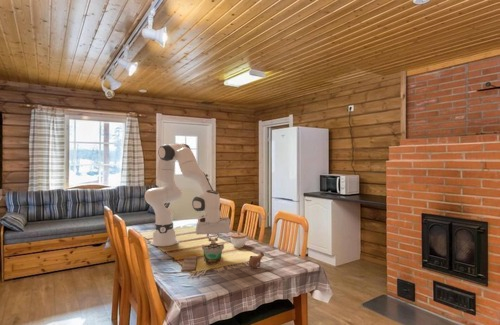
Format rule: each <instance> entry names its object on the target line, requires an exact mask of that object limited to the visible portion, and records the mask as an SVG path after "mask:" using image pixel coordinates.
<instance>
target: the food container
mask: <svg viewBox="0 0 500 325" xmlns="http://www.w3.org/2000/svg"><path fill="white" fill-rule="evenodd" d="M201 249H202V251H203V260H204V262H205V263H206V264H208V265H217V264H218V263H220V262H221V259H222V256H223V255H222V254H223V251H224V249H225V244H224V243H222V244H218V245H210V244H209V245H205V244H202V246H201Z"/></svg>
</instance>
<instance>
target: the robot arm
mask: <svg viewBox="0 0 500 325" xmlns="http://www.w3.org/2000/svg"><path fill="white" fill-rule="evenodd" d="M157 152H158V161H157V165H156V166H157V168H156V179H157V180H158V182H160V183H162V184H163V186H161V187H153V188H149V189H147V190H146V191H145V192H144V200H145V202H146V203H147V204H148V205H150V207H151V208H152V209H153V211H154V216H155V217H154V218H155V224H154V231H153V232H152V241H150V246H151V245H152V246H155V247H169V246H174V245H176V244H179V239H178V237H177V235H176V231H175V230H174V223H173V212H172V210H171V209H170V208H167V207H166V206H165V204H168V203H174V202H178V201H180V200H181V198H182V194H183V192H182V190H181V188H179V187H178V186H177V184H176V182H175V162H176V161H177V162H178V166H179V169H180V172H181V174H182V176H184V177H185V178H186V179H189V180H193V181H194V182H197V183H198V184H199V186H200V188H201V190H202V192H203V193H202V194H199V195H196V196H194V198H193V199H192V202H191V205H192V208H193V210H194V211H195V212H205V214H204V215H200V216H199V217H198V218H197V222H196V226H195V234H196V235H206V238H207V239H208V242H211V237H210V235H217V236H216V237H215V240H216V242H218V241H219V237H220V234H230V233H231V226H230V225H231V218H229V217H227V216H226V217H221V210H220V207H221V198H220V193H219V191H216V190H214V189H213V187H212V185H211V183H210V181H209V178H208V177H207V175H206V174H205V172H204V171H203V170H202V169H201V167H200V166H199V164H198V161H197V158H196V157H195V155H194V152H193V151H192V149H191V147H190V145H188V144H186V143H177V142H176V143H169V144H168V143H166V144H161V146H159V148H158V151H157Z"/></svg>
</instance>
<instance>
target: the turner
mask: <svg viewBox="0 0 500 325" xmlns="http://www.w3.org/2000/svg"><path fill="white" fill-rule="evenodd" d="M210 238H211V241H210V243H209V245H219V244H218V243H217V241H216V240H215V238H216V237H214V236H213V237H210Z"/></svg>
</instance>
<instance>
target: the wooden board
mask: <svg viewBox="0 0 500 325" xmlns="http://www.w3.org/2000/svg"><path fill="white" fill-rule="evenodd" d="M197 259H198V257H197V256H185V257H184V259H183V263H182V266H181V270H180V271H181V272H192V271H196V265H197Z"/></svg>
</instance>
